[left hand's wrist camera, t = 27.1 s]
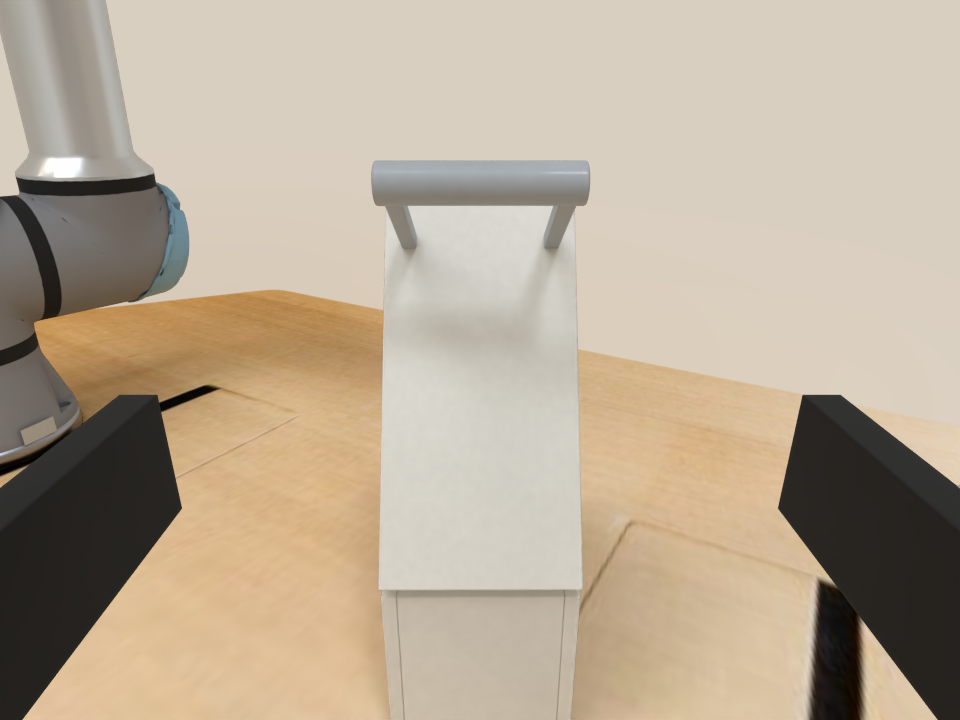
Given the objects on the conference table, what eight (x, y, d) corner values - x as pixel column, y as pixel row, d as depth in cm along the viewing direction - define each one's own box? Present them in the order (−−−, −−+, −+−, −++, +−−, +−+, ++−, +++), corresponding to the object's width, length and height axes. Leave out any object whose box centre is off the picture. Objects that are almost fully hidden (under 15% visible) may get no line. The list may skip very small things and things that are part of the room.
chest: (421, 529, 46) (416, 420, 43) (538, 528, 46) (543, 420, 43) (391, 741, 31) (380, 597, 27) (569, 741, 31) (580, 597, 27)
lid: (388, 206, 30) (353, 117, 21) (571, 206, 30) (607, 117, 21) (381, 585, 27) (339, 649, 19) (579, 585, 27) (623, 648, 19)
